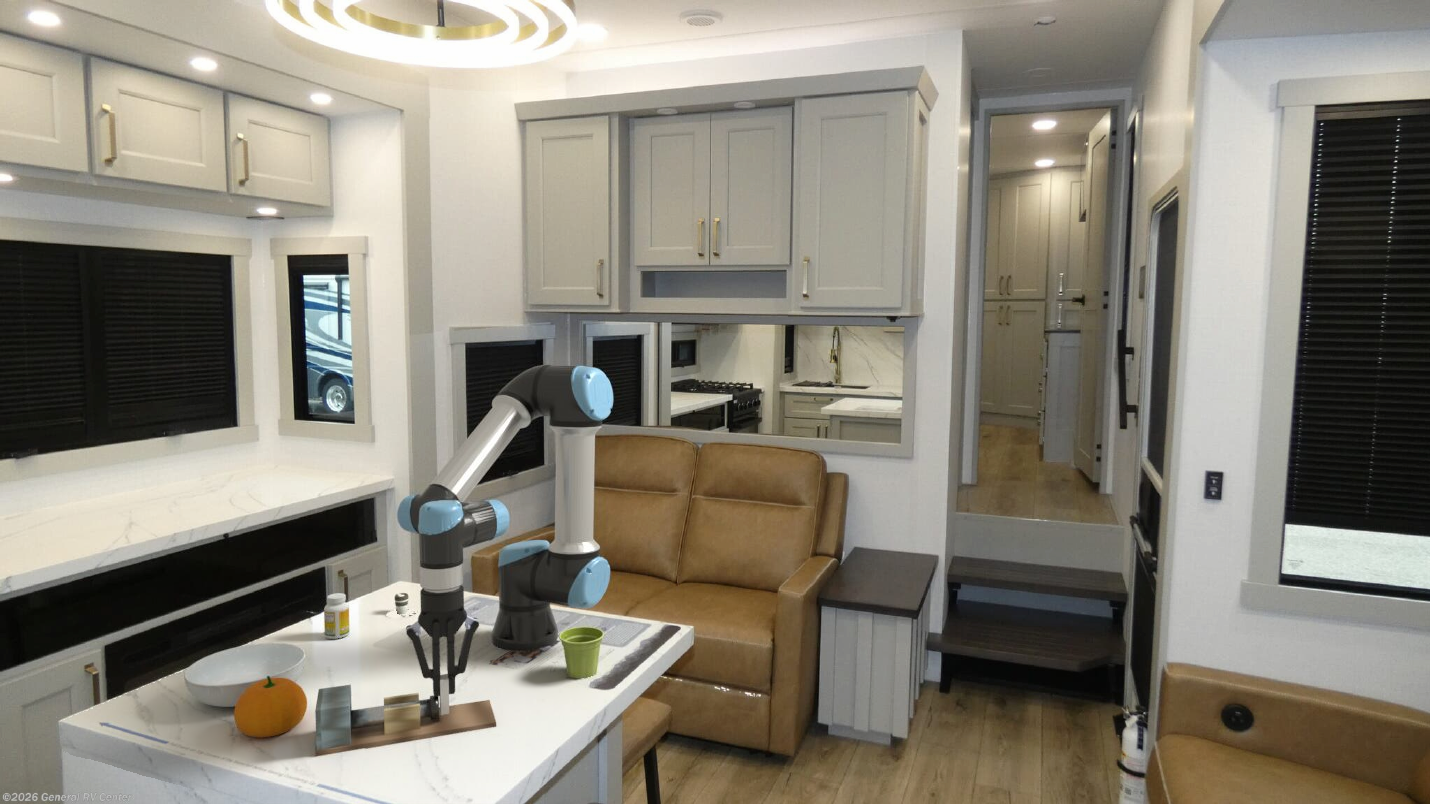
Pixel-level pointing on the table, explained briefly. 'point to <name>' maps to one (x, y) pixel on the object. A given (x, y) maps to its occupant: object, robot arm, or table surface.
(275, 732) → the fruit
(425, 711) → the tube
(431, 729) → the base
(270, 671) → the serving bowl
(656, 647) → the table surface
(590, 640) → the plant pot
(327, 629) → the supplement bottle
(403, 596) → the coffee cup
